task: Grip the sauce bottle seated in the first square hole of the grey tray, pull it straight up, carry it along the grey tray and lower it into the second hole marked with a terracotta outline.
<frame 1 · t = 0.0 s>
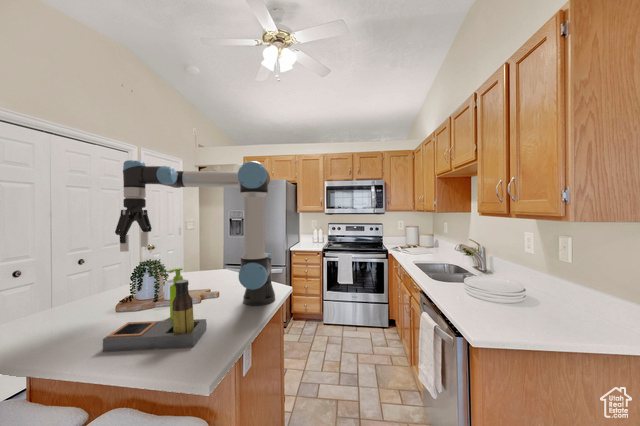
hand: (135, 248, 107), 28 cm above the counter, tool pointing down, fingers open, 13 cm apart
sauce bottle: (183, 339, 87), resting in grey tray
grey tray: (158, 339, 87), on the counter
soap dispenser: (177, 317, 105), on the counter
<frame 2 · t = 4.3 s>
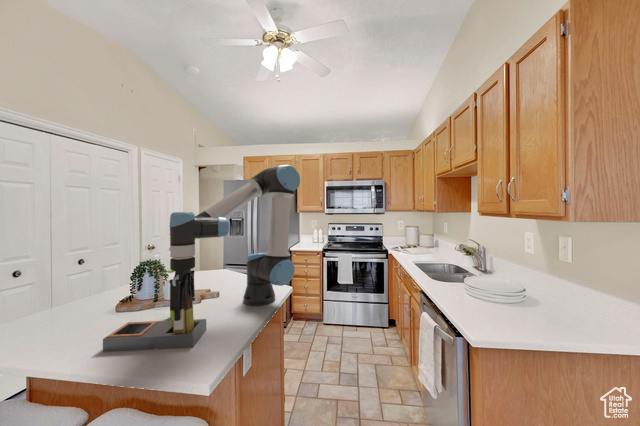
hand: (183, 324, 87), 5 cm above the counter, tool pointing down, fingers closed on sauce bottle, 6 cm apart
sauce bottle: (183, 339, 87), resting in grey tray, touching gripper
everything else where it was.
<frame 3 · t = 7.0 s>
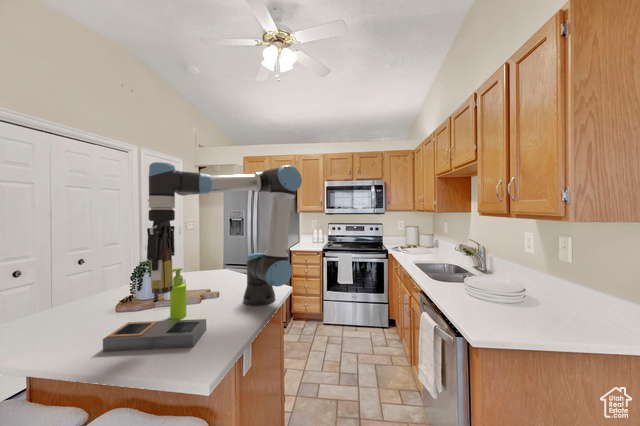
hand: (161, 277, 86), 21 cm above the counter, tool pointing down, fingers closed on sauce bottle, 6 cm apart
sauce bottle: (161, 292, 86), point 16 cm above the counter, touching gripper
everything else where it was.
when the fingers open (6 cm above the counter, at t = 9.9 s): sauce bottle drops 1 cm, resting in grey tray.
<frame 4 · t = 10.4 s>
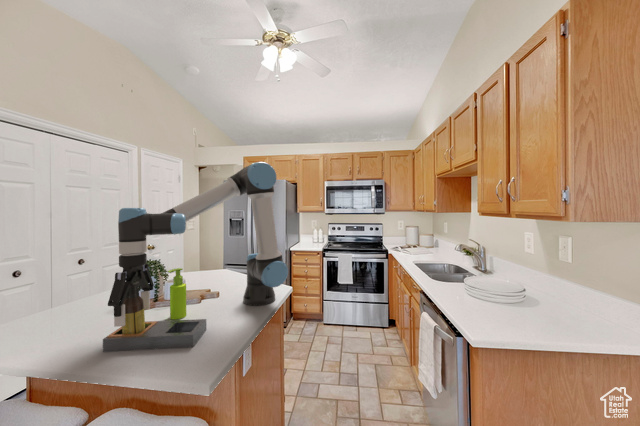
hand: (133, 317, 86), 8 cm above the counter, tool pointing down, fingers open, 13 cm apart
sauce bottle: (133, 341, 86), resting in grey tray
everything else where it was.
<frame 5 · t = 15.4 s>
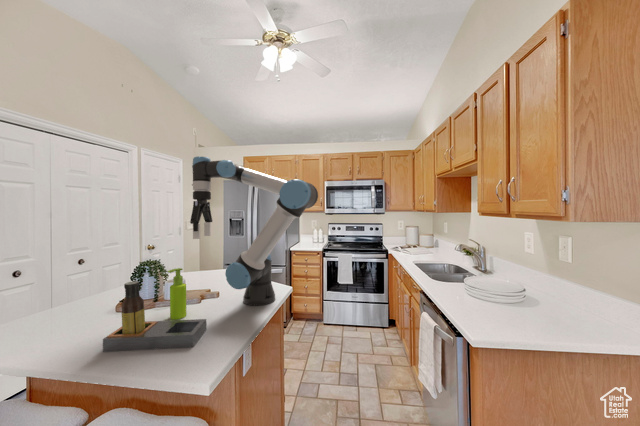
hand: (202, 237, 118), 32 cm above the counter, tool pointing down, fingers open, 13 cm apart
nothing on the counter moved.
at the end: sauce bottle 0.1 cm from the target spot on the grey tray, point 0.0 cm above the grey tray's base; sauce bottle tilted 0°; the gripper is holding nothing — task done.
